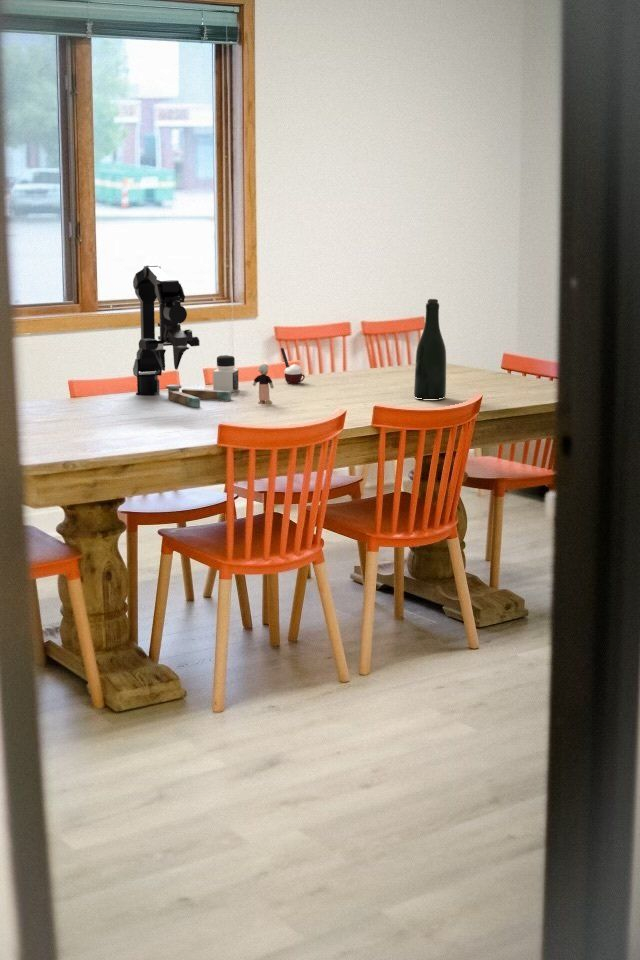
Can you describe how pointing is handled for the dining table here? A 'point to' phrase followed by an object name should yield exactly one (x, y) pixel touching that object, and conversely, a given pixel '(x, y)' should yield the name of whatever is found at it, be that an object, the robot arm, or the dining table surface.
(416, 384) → the dark wine bottle
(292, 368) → the cocoa
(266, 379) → the grandmother figurine
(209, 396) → the base
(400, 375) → the dining table surface
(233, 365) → the medicine bottle
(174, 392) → the tong leg
